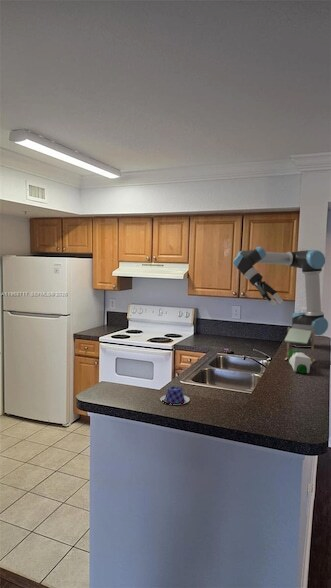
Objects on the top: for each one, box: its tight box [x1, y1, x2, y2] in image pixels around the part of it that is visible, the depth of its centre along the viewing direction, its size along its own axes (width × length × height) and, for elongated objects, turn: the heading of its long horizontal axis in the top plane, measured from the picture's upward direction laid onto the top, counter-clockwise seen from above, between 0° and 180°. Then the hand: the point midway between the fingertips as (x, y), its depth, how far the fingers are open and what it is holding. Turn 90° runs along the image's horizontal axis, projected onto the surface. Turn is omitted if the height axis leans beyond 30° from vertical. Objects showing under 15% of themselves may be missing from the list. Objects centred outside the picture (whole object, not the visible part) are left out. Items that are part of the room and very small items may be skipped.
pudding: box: [159, 385, 191, 405], centre depth 152 cm, size 12×12×5 cm
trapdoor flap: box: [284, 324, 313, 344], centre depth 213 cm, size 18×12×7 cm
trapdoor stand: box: [283, 326, 316, 365], centre depth 216 cm, size 10×15×19 cm
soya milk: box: [287, 349, 311, 374], centre depth 199 cm, size 9×9×20 cm
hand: (278, 303), depth 215 cm, fingers open, 13 cm apart
